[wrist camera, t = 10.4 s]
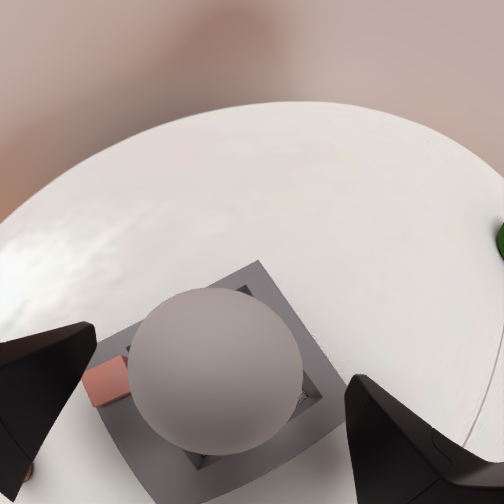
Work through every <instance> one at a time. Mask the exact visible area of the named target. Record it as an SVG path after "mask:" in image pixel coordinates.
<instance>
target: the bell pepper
mask: <svg viewBox="0 0 504 504" xmlns="http://www.w3.org/2000/svg"><path fill="white" fill-rule="evenodd" d="M497 242H498V246H499V250H500V252H501V254H502V256H503V258H504V223H503V225H502V226H501V229H500V231H499V235H498V240H497Z"/></svg>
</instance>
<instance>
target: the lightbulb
mask: <svg viewBox="0 0 504 504" xmlns="http://www.w3.org/2000/svg"><path fill="white" fill-rule="evenodd" d="M127 372H128V380H129V388H130V391H131V394H132V397H133V400H134V402H135V405H136V406H137V408H138V410H139V412H140V413H141V415H142V417H143V418H144V420H145V421H146V422H147V423H148V424H149V425H150V426H151V427H152V428H153V430H154V431H155V432H156V433H158V434H159V435H160V436H162V437H163V438H165V439H166V440H167V441H169V442H170V443H172V444H174V445H176V446H178V447H180V448H183V449H185V450H187V451H191V452H195V453H199V454H204V455H230V454H236V453H241V452H244V451H247V450H249V449H252V448H255V447H257V446H259V445H261V444H262V443H264V442H265V441H267V440H268V439H270V438H271V437H273V436H274V435H275V434H276V433H277V432H278V431H279V430H280V429H281V428H282V427H283V426H284V425H285V424H286V423H287V421H288V420H289V418H290V416H291V415H292V413H293V412H294V410H295V408H296V405H297V403H298V400H299V397H300V395H301V389H302V382H303V366H302V358H301V355H300V351H299V347H298V344H297V342H296V340H295V338H294V336H293V334H292V332H291V330H290V329H289V328H288V327H287V325H286V324H285V323H284V321H283V320H282V319H281V317H279V316H278V315H277V314H276V313H275V312H274V311H273V310H272V309H271V308H269V307H268V306H267V305H266V304H264V303H262V302H261V301H259V300H257V299H256V298H254V297H252V296H250V295H247V294H244V293H242V292H239V291H235V290H230V289H226V288H208V287H207V288H200V289H193V290H189V291H186V292H183V293H180V294H177V295H175V296H173V297H171V298H170V299H168V300H166V301H164V302H162V303H161V304H160V305H159V306H158V307H156V308H155V309H154V310H153V311H151V312H150V313H149V315H148V316H147V317H146V318H145V320H144V321H143V322H142V323H141V324H140V326H139V328H138V330H137V332H136V334H135V336H134V338H133V340H132V344H131V347H130V351H129V355H128V367H127Z"/></svg>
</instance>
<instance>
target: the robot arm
mask: <svg viewBox="0 0 504 504" xmlns="http://www.w3.org/2000/svg"><path fill="white" fill-rule="evenodd" d="M96 348H97V340H96V333H95V327H94V325H93V324H91V323H88V322H85V321H83V322H79V323H75V324H72V325H68V326H64V327H61V328H57V329H53V330H49V331H46V332H42V333H38V334H34V335H30V336H26V337H23V338H19V339H15V340H11V341H7V342H3V343H0V492H1V493H2V494H3V495H4V496H5V497H7V498H8V499H9V500H10V501H12V502H14V501H15V499H16V497H17V494H18V492H19V490H20V488H21V486H22V483H23V481H24V479H25V477H26V475H27V473H28V471H29V469H30V467H31V465H32V462H33V461H34V459H35V457H36V455H37V453H38V451H39V449H40V447H41V446H42V444H43V442H44V440H45V438H46V436H47V435H48V433H49V431H50V429H51V428H52V426H53V424H54V422H55V421H56V419H57V417H58V416H59V414H60V412H61V411H62V409H63V407H64V406H65V404H66V402H67V401H68V399H69V398H70V396H71V394H72V393H73V391H74V390H75V388H76V386H77V385H78V383H79V381H80V380H81V378H82V376H83V374H84V372H85V370H86V368H87V366H88V364H89V362H90V360H91V358H92V356H93V354H94V352H95V350H96ZM344 403H345V416H346V431H347V439H348V444H349V450H350V456H351V462H352V468H353V475H354V481H355V488H356V496H357V503H358V504H504V462H499V463H494V462H488V461H485V460H483V459H481V458H480V457H478V456H476V455H474V454H473V453H471V452H469V451H468V450H466V449H464V448H463V447H461V446H459V445H458V444H456V443H454V442H453V441H451V440H450V439H448V438H447V437H445V436H444V435H443V434H441V433H440V432H439V431H437V430H436V429H435V428H432V426H431V425H429V424H428V423H427V422H425V421H424V420H423V419H421V418H420V417H419V416H417V415H416V414H415V413H414V412H412V411H411V410H410V409H408V408H407V407H406V406H405V405H403V404H402V403H401V402H399V401H398V400H397V399H396V398H394V397H393V396H392V395H390V394H389V393H388V392H387V391H385V390H384V389H383V388H382V387H380V386H379V385H378V384H377V383H375V382H374V381H373V380H371V379H370V378H369V377H368V376H366V375H364V374H355V375H353V377H352V378H351V380H350V383H349V385H348V387H347V389H346V391H345V394H344Z"/></svg>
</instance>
